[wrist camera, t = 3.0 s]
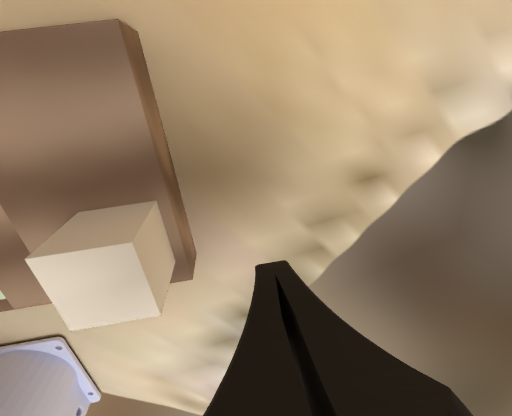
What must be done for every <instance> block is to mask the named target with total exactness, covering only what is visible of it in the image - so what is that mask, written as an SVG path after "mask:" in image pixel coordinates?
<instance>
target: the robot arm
mask: <svg viewBox="0 0 512 416" xmlns="http://www.w3.org/2000/svg"><path fill="white" fill-rule="evenodd" d="M255 272H256V273H255V285H254V291H253V296H252V301H251V306H250V309H249V313H248V317H247V320H246V323H245V327H244V330H243V333H242V335H241V338H240V341H239V343H238V346H237V348H236V351H235V353H234V356H233V358H232V360H231V363H230V365H229V367H228V369H227V371H226V374H225V376H224V377H223V379H222V381H221V383H220V385H219V387H218V389H217V391H216V393H215V395H214V397H213V399H212V401H211V403H210V405H209V406H208V408H207V410H206V411H205V413H204V415H203V416H473V415H472V414H471V412H470V411H469V410H468V409H467V408H466V406H465V405H464V404H463V403H462V402H461V401H460V399H459V398H458V397H457V396H456V395H455V394H454V393H453V392H452V391H451V389H450V388H449V387H447V386H445V385H443V384H441V383H440V382H438V381H436V380H434V379H432V378H430V377H428V376H427V375H425V374H423V373H421V372H419V371H417V370H416V369H414V368H412V367H410V366H408V365H407V364H405V363H404V362H402V361H400V360H399V359H397V358H395V357H394V356H392V355H391V354H389V353H387V352H386V351H385V350H383V349H382V348H380V347H379V346H377V345H376V344H374V343H373V342H371V341H370V340H368V339H367V338H366V337H364V336H363V335H361V334H360V333H359V332H357V331H356V330H355V329H353V328H352V327H351V326H349V325H348V324H347V323H346V322H344V321H343V320H342V319H341V318H340V317H339V316H337V315H336V314H335V313H334V312H333V311H332V310H331V309H329V308H328V307H327V306H326V305H325V304H324V303H323V302H322V301H321V300H320V299H319V298H318V297H317V296H316V295H315V294H314V293H313V292H312V291H311V290H310V289H309V288H308V286H307V285H306V284H305V283H304V282H303V281H302V280H301V279H300V277H299V276H298V275H297V274H296V273H295V271H294V270H293V269H292V267H291V266H290V265H289V263H288V262H287V261H285V260H284V261H277V262H271V263H265V264H259V265H257V266H256V267H255ZM100 398H101V394H100V392H99V391H98V389H97V388H96V386H95V385H94V383H93V382H92V380H91V379H90V378H89V376H88V375H87V373H86V372H85V370H84V369H83V367H82V366H81V364H80V363H79V361H78V360H77V358H76V357H75V355H74V354H73V352H72V351H71V349H70V348H69V346H68V345H67V343H66V342H65V340H64V339H63V338H61V337H53V338H47V339H42V340H36V341H30V342H25V343H19V344H13V345H7V346H2V347H0V416H85V415H86V412H87V410H88V408H89V405H90V403H93V402H97V401H99V400H100Z"/></svg>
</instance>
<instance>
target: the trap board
mask: <svg viewBox="0 0 512 416" xmlns="http://www.w3.org/2000/svg"><path fill="white" fill-rule="evenodd" d="M150 201H157V204H158V207H159V211H160V214H161V217H162V220H163V223H164V226H165V230H166V233H167V236H168V239H169V242H170V246H171V249H172V252H173V255H174V258H175V265H174V269H173V272H172V276H171V280H170V283H175V282H181V281H187V280H193V273H194V267H195V260H196V251H195V247H194V243H193V239H192V236H191V232H190V228H189V224H188V221H187V217H186V213H185V209H184V205H183V202H182V198H181V194H180V190H179V187H178V183H177V179H176V175H175V172H174V168H173V164H172V160H171V156H170V153H169V149H168V145H167V141H166V138H165V134H164V130H163V126H162V122H161V119H160V115H159V111H158V107H157V104H156V100H155V96H154V92H153V88H152V85H151V81H150V77H149V73H148V70H147V66H146V62H145V58H144V54H143V51H142V47H141V43H140V39H139V36H138V32H137V31H135V30H134V29H132V28H131V27H129V26H127V25H126V24H124V23H123V22H121V21H120V20H118V19H113V20H104V21H95V22H86V23H76V24H67V25H58V26H49V27H39V28H30V29H21V30H12V31H3V32H0V312H2V311H8V310H14V309H20V308H26V307H32V306H38V305H44V304H50V303H52V302H51V300H50V299H49V297H48V296H47V294H46V292H45V291H44V289H43V288H42V286H41V285H40V283H39V281H38V280H37V278H36V277H35V275H34V274H33V272H32V270H31V269H30V267H29V266H28V264H27V263H26V261H25V258H27V257H28V256H29V255H30V254H31V253H32V252H33V251H34V250H36V249H37V248H38V247H39V246H40V245H41V244H42V243H44V242H45V241H46V240H47V239H48V238H49V237H50V236H52V235H53V234H54V233H55V232H56V231H57V230H58V229H60V228H61V227H62V226H63V225H64V224H65V223H66V222H68V221H69V220H70V219H71V218H72V217H73V216H74V215H76V214H77V213H78V212H83V211H90V210H96V209H103V208H110V207H117V206H123V205H130V204H137V203H143V202H150Z"/></svg>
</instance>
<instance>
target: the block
mask: <svg viewBox="0 0 512 416" xmlns="http://www.w3.org/2000/svg"><path fill="white" fill-rule="evenodd" d="M25 261H26V263H27V264H28V266H29V267H30V269H31V270H32V272H33V274H34V275H35V277H36V278H37V280H38V281H39V283H40V285H41V286H42V288H43V289H44V291H45V292H46V294H47V296H48V297H49V299H50V300H51V302H52V303H53V305H54V306H55V308H56V310H57V311H58V313H59V314H60V316H61V317H62V319H63V321H64V322H65V324H66V325H67V327H68V328H69V330H70V331H76V330H81V329H87V328H93V327H98V326H104V325H110V324H116V323H121V322H127V321H133V320H139V319H144V318H150V317H156V316H161V313H162V310H163V306H164V302H165V299H166V295H167V291H168V287H169V284H170V280H171V276H172V272H173V269H174V265H175V258H174V255H173V252H172V249H171V246H170V242H169V239H168V236H167V233H166V230H165V226H164V223H163V220H162V217H161V214H160V211H159V207H158V204H157V201H150V202H143V203H137V204H130V205H123V206H117V207H110V208H103V209H96V210H90V211H83V212H78V213H77V214H76V215H74V216H73V217H72V218H71V219H70V220H69V221H68V222H66V223H65V224H64V225H63V226H62V227H61V228H60V229H58V230H57V231H56V232H55V233H54V234H53V235H52V236H50V237H49V238H48V239H47V240H46V241H45V242H44V243H42V244H41V245H40V246H39V247H38V248H37V249H36V250H34V251H33V252H32V253H31V254H30V255H29V256H28V257H27V258H25Z"/></svg>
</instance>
